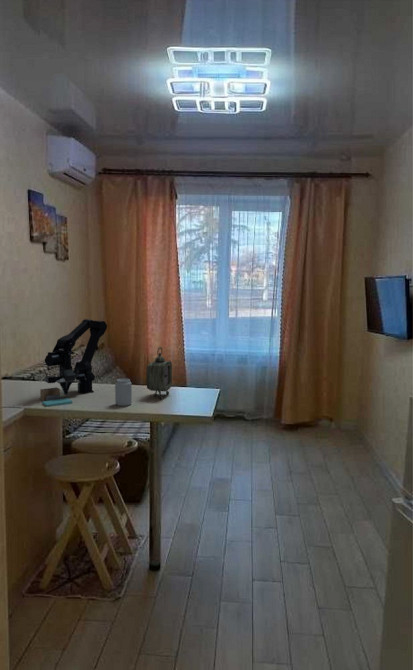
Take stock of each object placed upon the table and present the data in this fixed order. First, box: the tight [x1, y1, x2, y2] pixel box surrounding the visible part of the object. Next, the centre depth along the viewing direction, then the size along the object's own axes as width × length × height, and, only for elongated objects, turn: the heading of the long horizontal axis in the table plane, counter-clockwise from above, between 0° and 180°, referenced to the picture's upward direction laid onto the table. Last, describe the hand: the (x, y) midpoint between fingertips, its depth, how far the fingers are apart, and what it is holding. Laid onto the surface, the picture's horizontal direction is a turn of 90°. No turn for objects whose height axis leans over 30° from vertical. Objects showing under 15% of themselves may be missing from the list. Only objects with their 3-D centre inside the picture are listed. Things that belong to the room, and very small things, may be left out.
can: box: [114, 378, 133, 407], centre depth 222 cm, size 8×8×12 cm
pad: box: [41, 397, 73, 408], centre depth 224 cm, size 12×7×1 cm, turn 125°
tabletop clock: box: [145, 346, 173, 400], centre depth 238 cm, size 14×9×25 cm, turn 167°
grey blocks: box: [46, 394, 61, 401], centre depth 232 cm, size 6×11×2 cm, turn 35°
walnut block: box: [40, 386, 61, 402], centre depth 232 cm, size 8×5×5 cm, turn 128°
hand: (65, 394), depth 237 cm, fingers closed
